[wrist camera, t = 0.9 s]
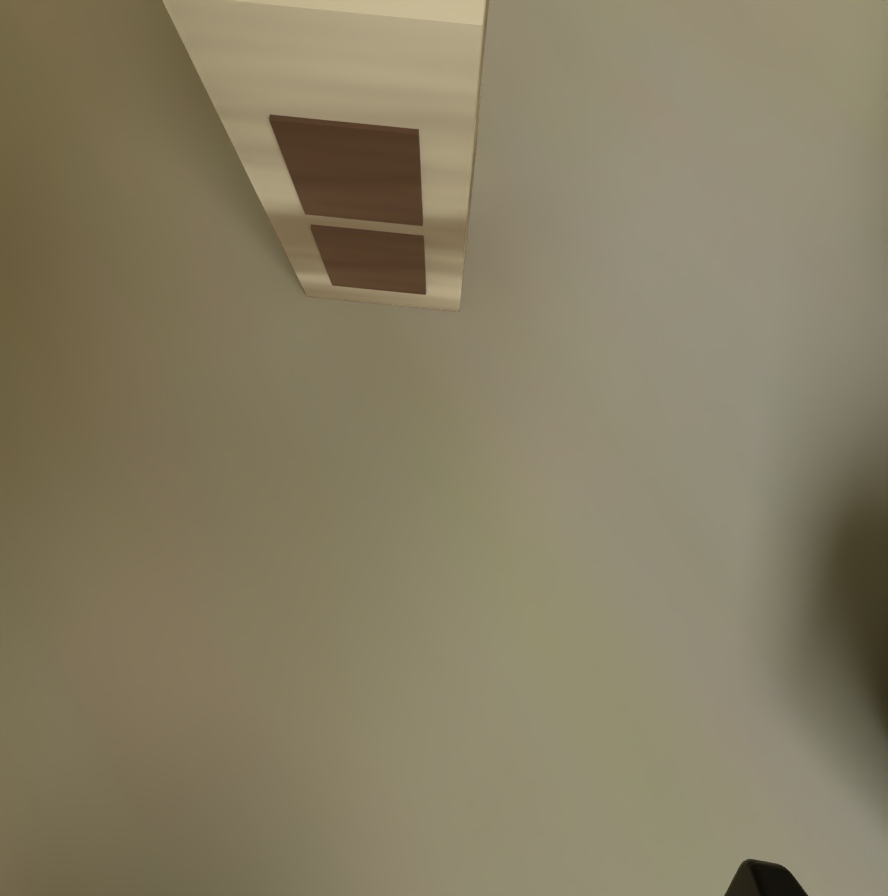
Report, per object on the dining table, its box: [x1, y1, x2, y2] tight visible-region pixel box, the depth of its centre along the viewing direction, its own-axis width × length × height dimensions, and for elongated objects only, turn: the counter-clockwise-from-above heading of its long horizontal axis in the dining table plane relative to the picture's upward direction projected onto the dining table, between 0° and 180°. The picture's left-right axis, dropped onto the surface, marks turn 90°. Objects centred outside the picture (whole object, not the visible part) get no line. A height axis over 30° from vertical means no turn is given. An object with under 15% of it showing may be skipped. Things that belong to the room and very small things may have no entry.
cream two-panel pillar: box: [162, 0, 489, 312], centre depth 17 cm, size 5×4×12 cm
